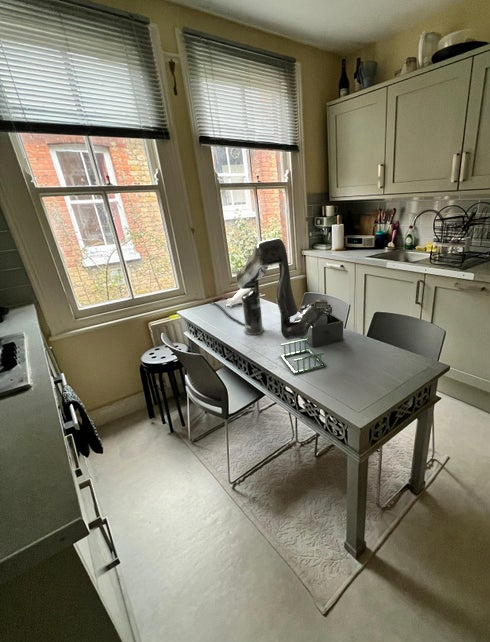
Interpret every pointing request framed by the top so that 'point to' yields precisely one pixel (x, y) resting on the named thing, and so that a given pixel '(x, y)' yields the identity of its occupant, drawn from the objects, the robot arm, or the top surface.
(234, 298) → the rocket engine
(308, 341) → the grey open box
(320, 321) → the coffee box
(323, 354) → the dish rack
